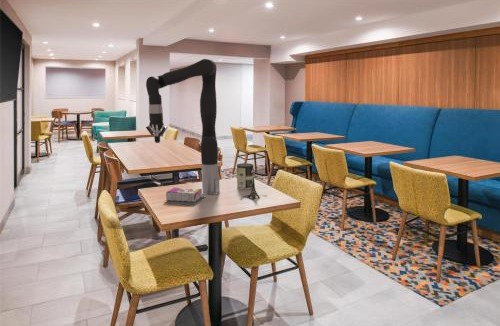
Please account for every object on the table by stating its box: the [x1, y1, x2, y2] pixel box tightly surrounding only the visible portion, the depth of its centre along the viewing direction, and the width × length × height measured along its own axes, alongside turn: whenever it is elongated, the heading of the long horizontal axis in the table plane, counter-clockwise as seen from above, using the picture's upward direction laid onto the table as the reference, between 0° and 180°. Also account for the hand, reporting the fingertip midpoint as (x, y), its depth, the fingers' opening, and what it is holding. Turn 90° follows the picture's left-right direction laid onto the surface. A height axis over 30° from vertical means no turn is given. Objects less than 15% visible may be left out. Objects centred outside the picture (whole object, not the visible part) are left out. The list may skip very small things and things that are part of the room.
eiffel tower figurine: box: [239, 176, 268, 201], centre depth 205 cm, size 15×10×13 cm
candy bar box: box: [165, 187, 203, 202], centre depth 203 cm, size 11×5×16 cm
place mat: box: [164, 195, 207, 207], centre depth 202 cm, size 17×16×1 cm
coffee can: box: [236, 162, 254, 190], centre depth 227 cm, size 10×10×14 cm
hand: (157, 142), depth 215 cm, fingers closed
